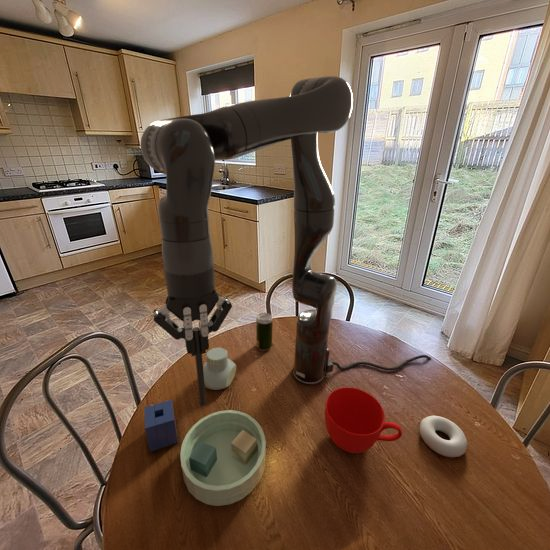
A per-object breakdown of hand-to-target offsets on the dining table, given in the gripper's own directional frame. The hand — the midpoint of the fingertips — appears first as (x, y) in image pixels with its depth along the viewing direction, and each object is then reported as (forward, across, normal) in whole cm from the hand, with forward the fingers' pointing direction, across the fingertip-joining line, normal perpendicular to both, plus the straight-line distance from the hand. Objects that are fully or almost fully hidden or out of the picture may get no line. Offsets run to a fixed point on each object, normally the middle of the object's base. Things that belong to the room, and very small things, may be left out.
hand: (198, 351), depth 53 cm
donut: (+29, +52, -17) cm, 62 cm away
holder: (+29, -9, +9) cm, 32 cm away
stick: (+13, 0, 0) cm, 13 cm away
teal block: (+29, -1, -2) cm, 29 cm away
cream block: (+28, +7, -2) cm, 29 cm away
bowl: (+29, +3, -2) cm, 29 cm away
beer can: (+29, +25, +31) cm, 50 cm away
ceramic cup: (+29, +33, -10) cm, 45 cm away
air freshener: (+29, +7, +22) cm, 37 cm away
